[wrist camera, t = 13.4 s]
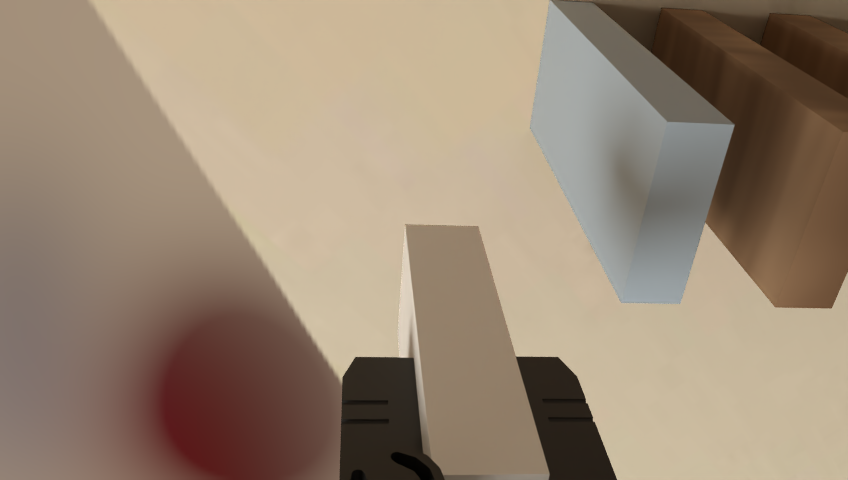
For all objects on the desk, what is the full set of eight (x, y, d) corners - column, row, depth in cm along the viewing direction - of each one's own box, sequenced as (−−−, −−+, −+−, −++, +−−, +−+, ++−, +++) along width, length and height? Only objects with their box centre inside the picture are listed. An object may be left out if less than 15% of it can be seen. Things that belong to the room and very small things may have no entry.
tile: (529, 128, 29) (620, 302, 19) (549, -1, 27) (667, 121, 17) (569, 129, 30) (680, 303, 19) (592, 2, 27) (734, 124, 17)
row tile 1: (632, 133, 30) (775, 307, 20) (661, 7, 27) (843, 131, 17) (670, 134, 30) (831, 308, 20) (702, 10, 28) (907, 134, 17)
